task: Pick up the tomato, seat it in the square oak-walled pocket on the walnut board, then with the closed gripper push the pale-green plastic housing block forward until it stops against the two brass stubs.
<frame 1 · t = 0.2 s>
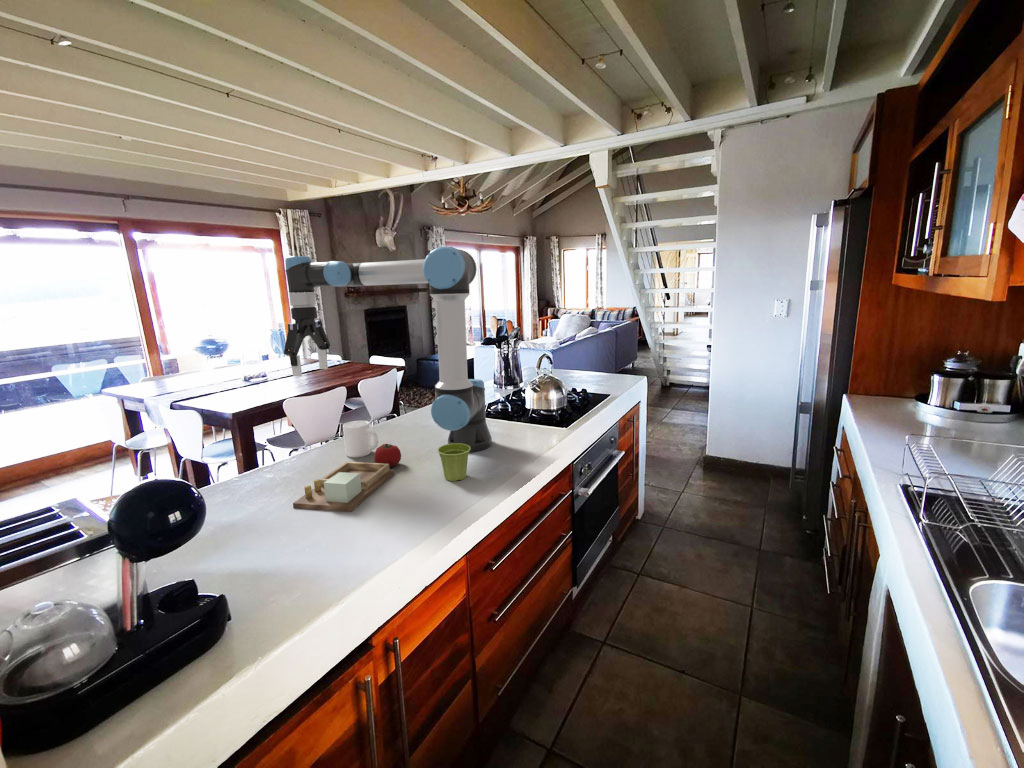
hand: (311, 372, 153), 28 cm above the worktop, fingers open, 13 cm apart
housing: (343, 487, 121), point 4 cm above the worktop, slide at 0.0 cm
housing base: (347, 489, 128), on the worktop
plant pot: (455, 478, 134), on the worktop
tomato: (387, 466, 145), on the worktop
mug: (363, 454, 156), on the worktop
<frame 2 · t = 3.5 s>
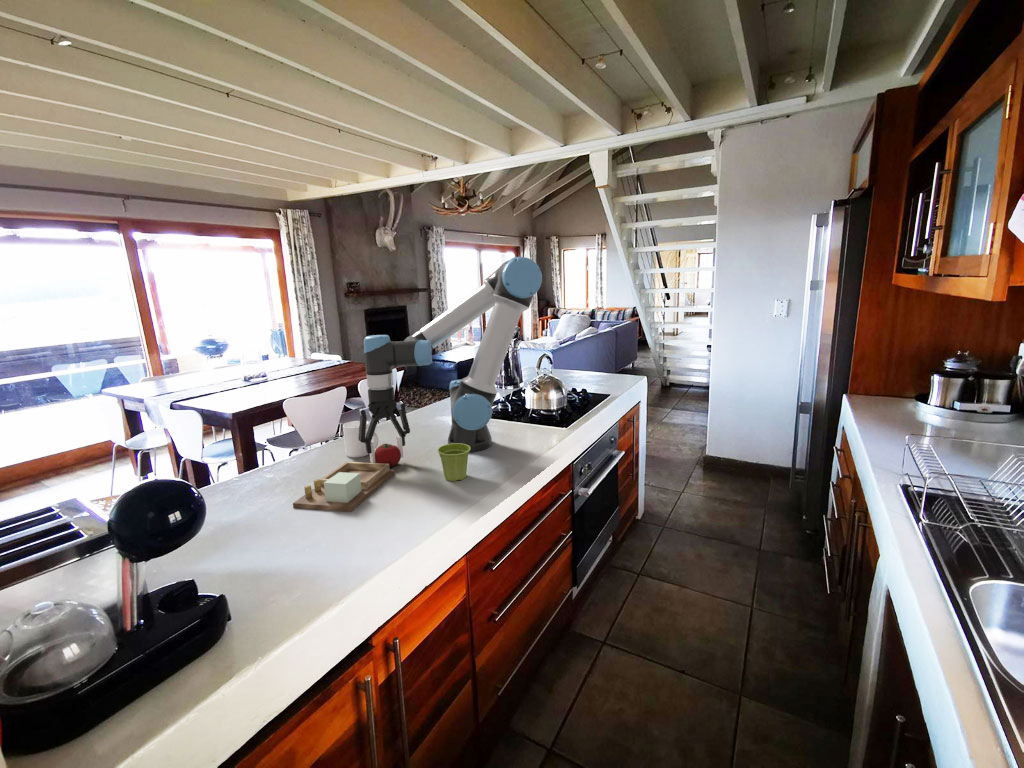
hand: (387, 459, 144), 2 cm above the worktop, fingers closed on tomato, 8 cm apart
tomato: (387, 466, 145), on the worktop, touching gripper
everything else where it was.
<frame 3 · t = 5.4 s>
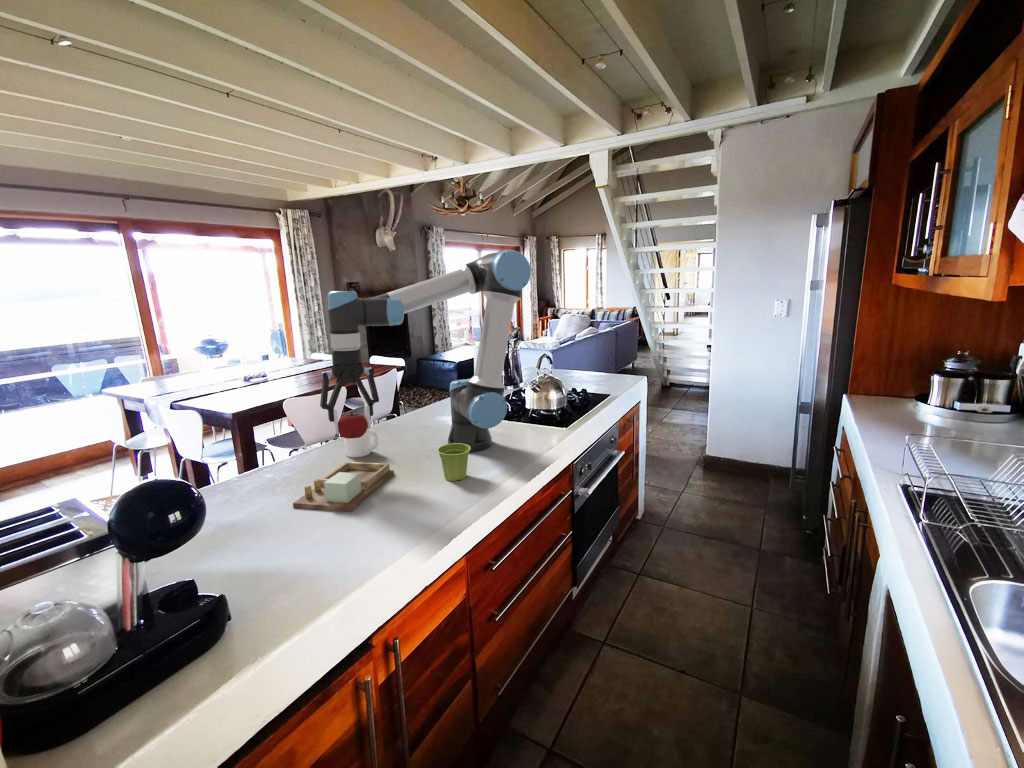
hand: (352, 429, 131), 15 cm above the worktop, fingers closed on tomato, 8 cm apart
tomato: (352, 437, 132), point 13 cm above the worktop, touching gripper
everything else where it was.
when the fingers open (4 cm above the worktop, at t = 7.1 s): tomato stays where it is, resting on housing base.
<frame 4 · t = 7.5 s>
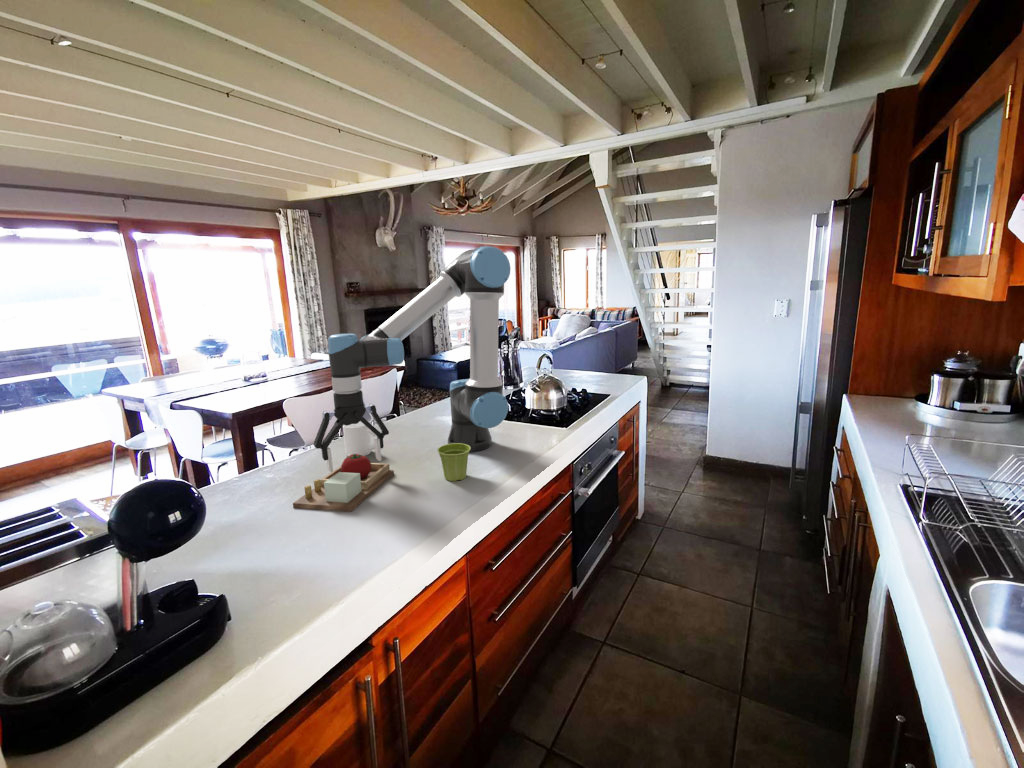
hand: (355, 465, 132), 5 cm above the worktop, fingers open, 13 cm apart
tomato: (356, 478, 133), point 1 cm above the worktop, touching housing base
everything else where it was.
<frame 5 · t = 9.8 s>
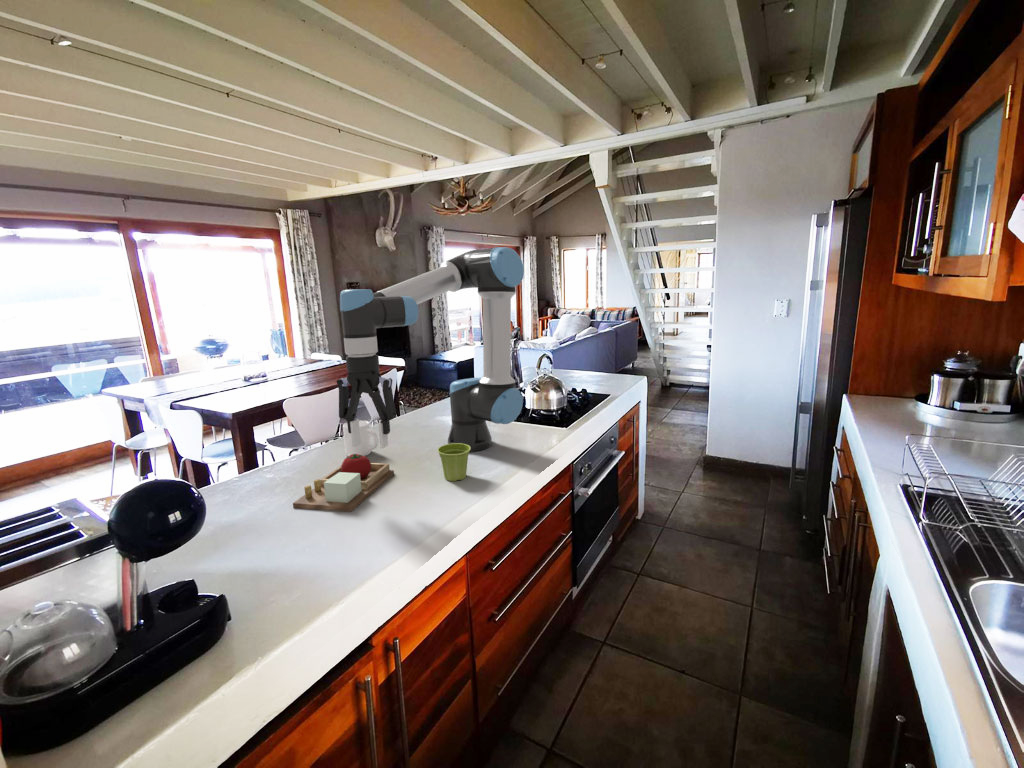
hand: (370, 445, 117), 15 cm above the worktop, fingers open, 7 cm apart
nothing on the worktop moved.
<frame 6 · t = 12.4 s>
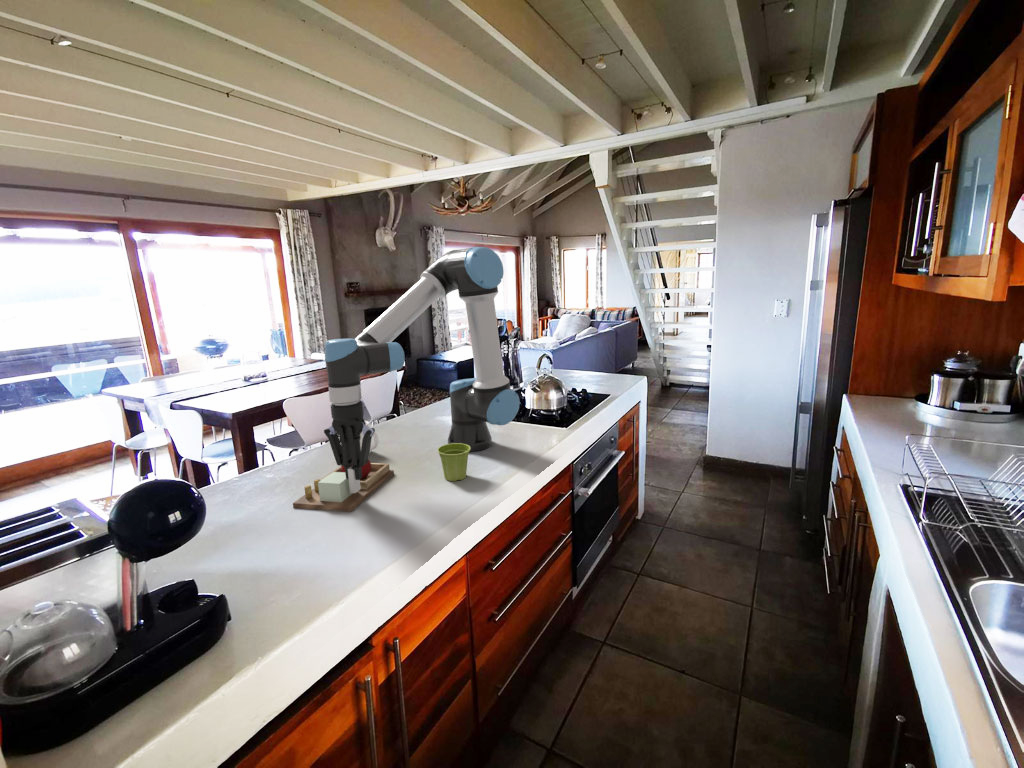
hand: (355, 490, 121), 3 cm above the worktop, fingers closed
housing: (337, 486, 121), point 4 cm above the worktop, slide at 1.7 cm, touching gripper
everything else where it was.
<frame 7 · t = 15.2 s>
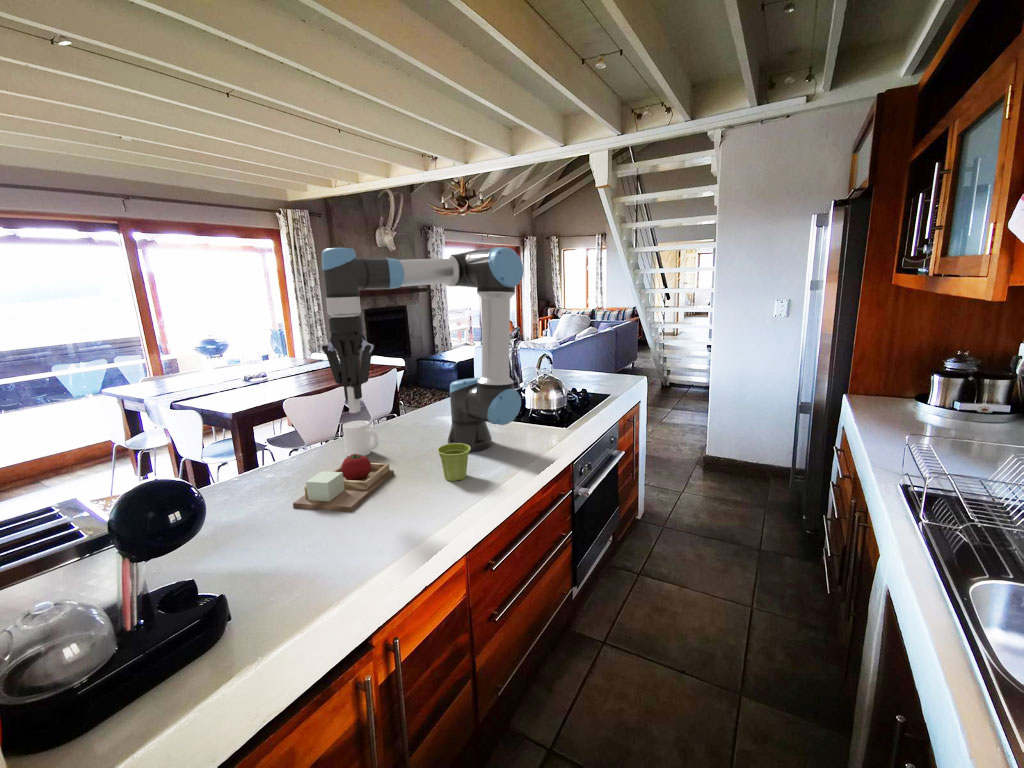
hand: (355, 411, 116), 24 cm above the worktop, fingers closed
housing: (325, 485, 122), point 4 cm above the worktop, slide at 5.0 cm, touching housing base
everything else where it was.
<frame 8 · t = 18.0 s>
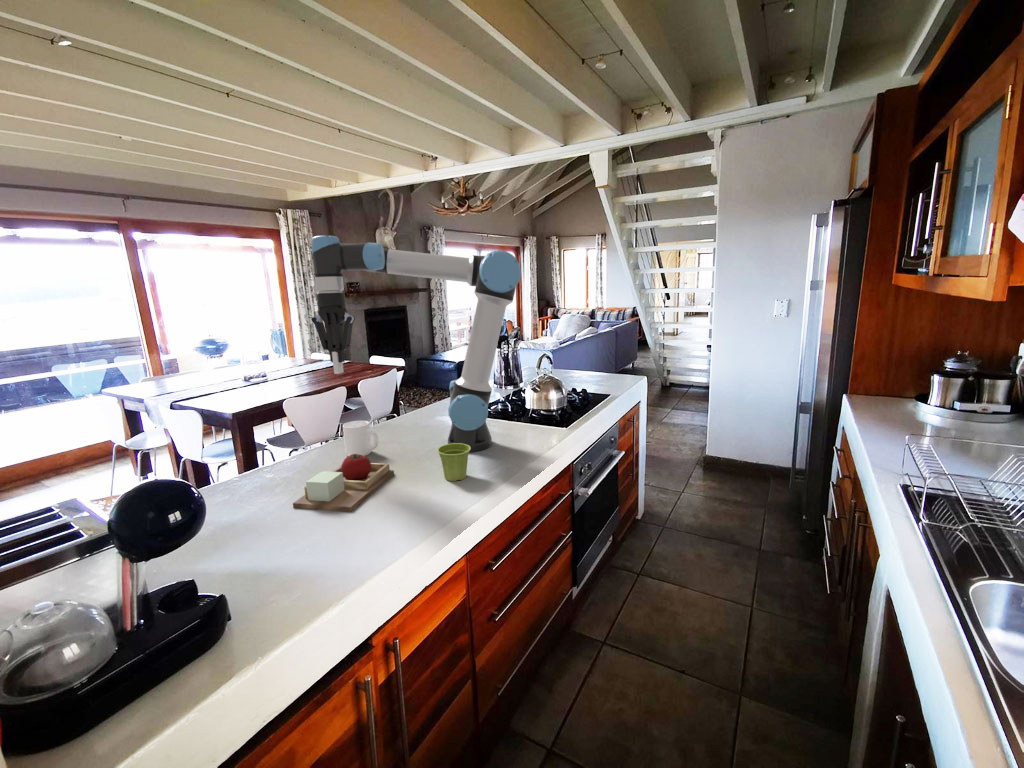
hand: (338, 373, 139), 29 cm above the worktop, fingers closed
nothing on the worktop moved.
at the end: tomato inside the target area on the housing base (0.1 cm from its centre), point 1.0 cm above the housing base's base; housing slide at 5.0 cm; the gripper is holding nothing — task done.
